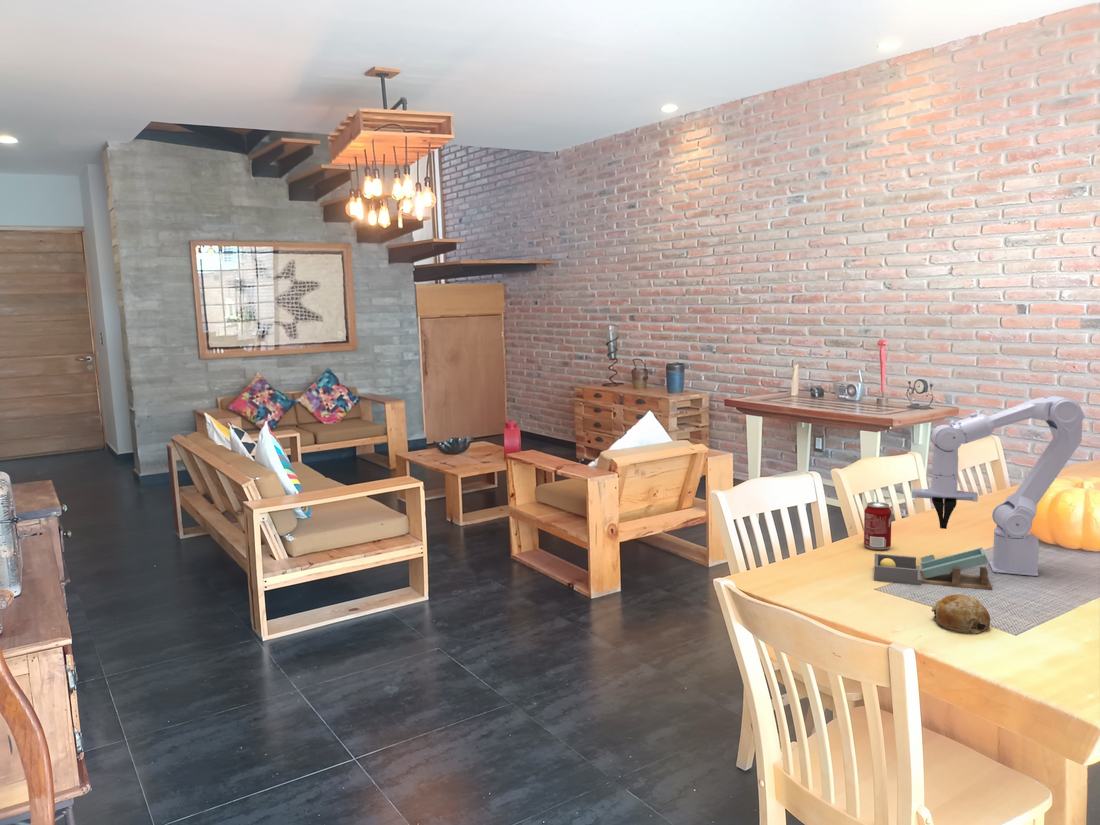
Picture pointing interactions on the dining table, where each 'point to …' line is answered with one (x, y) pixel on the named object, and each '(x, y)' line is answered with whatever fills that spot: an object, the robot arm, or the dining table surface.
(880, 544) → the soda can
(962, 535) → the dining table surface
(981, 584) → the base
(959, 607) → the bread roll
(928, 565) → the lever
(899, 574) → the tray
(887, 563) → the ball
